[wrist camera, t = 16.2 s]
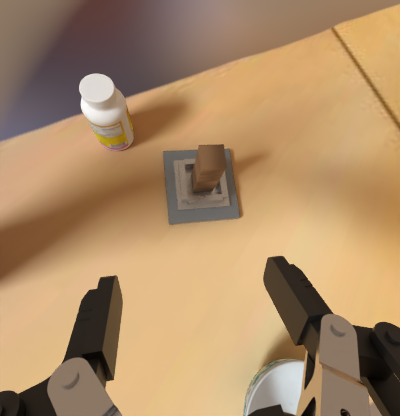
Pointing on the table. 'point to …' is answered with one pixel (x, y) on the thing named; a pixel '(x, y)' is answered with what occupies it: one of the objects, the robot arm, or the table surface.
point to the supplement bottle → (106, 112)
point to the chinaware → (276, 386)
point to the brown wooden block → (208, 167)
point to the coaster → (197, 214)
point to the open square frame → (201, 199)
